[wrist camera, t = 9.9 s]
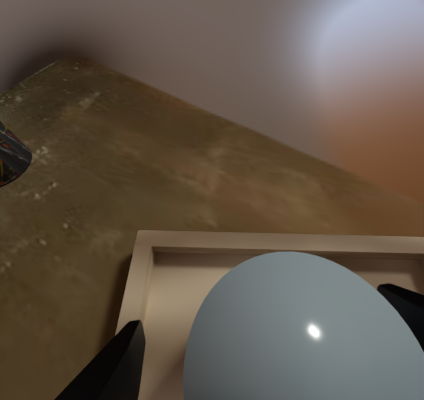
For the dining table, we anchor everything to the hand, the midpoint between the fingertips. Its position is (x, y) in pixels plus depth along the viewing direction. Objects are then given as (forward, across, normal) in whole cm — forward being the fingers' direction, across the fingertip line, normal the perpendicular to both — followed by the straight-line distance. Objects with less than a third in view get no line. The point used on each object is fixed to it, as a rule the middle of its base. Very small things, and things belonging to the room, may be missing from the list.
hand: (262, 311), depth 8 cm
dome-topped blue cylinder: (+4, 0, +6) cm, 8 cm away
